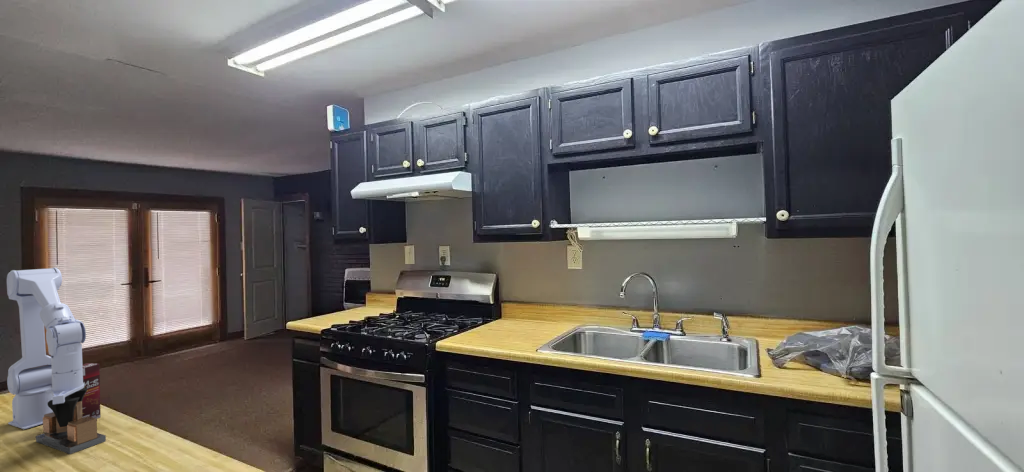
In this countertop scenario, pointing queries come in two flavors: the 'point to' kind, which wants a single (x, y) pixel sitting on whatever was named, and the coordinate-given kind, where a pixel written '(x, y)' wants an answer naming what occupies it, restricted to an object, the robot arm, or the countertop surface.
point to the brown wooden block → (76, 416)
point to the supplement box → (91, 390)
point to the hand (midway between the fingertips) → (69, 422)
